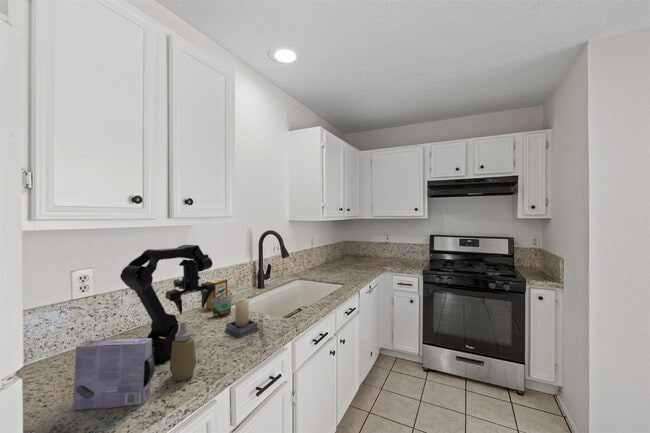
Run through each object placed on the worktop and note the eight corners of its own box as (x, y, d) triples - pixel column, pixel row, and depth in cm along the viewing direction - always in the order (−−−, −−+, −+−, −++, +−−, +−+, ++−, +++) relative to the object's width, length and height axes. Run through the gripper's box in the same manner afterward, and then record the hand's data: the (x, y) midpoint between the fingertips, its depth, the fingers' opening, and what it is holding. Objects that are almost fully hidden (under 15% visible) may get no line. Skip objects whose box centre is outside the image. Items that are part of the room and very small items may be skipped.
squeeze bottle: (178, 386, 88) (178, 329, 88) (164, 378, 92) (164, 324, 92) (201, 373, 95) (201, 321, 95) (187, 366, 99) (187, 316, 99)
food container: (217, 320, 142) (217, 300, 142) (210, 317, 146) (210, 298, 146) (237, 313, 152) (237, 295, 152) (231, 310, 156) (231, 292, 156)
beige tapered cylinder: (244, 332, 126) (244, 303, 126) (232, 330, 127) (232, 302, 127) (251, 326, 132) (251, 299, 131) (239, 325, 133) (239, 298, 133)
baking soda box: (214, 311, 155) (214, 282, 155) (206, 309, 158) (206, 281, 158) (227, 306, 163) (227, 278, 163) (219, 304, 166) (219, 277, 166)
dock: (239, 338, 122) (239, 330, 122) (224, 331, 129) (224, 323, 129) (259, 329, 131) (259, 322, 130) (244, 324, 137) (244, 317, 137)
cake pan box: (155, 393, 84) (155, 335, 84) (147, 405, 79) (147, 343, 79) (84, 400, 81) (83, 339, 81) (71, 412, 76) (71, 348, 76)
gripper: (203, 267, 130) (204, 300, 131) (159, 275, 116) (160, 312, 117) (215, 271, 123) (216, 306, 124) (170, 280, 109) (171, 319, 110)
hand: (192, 310), depth 119 cm, fingers open, 9 cm apart
